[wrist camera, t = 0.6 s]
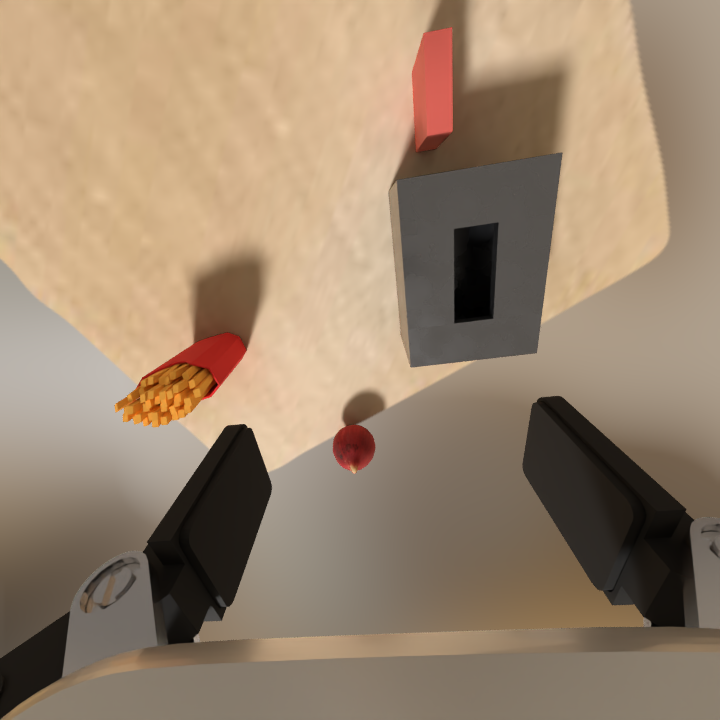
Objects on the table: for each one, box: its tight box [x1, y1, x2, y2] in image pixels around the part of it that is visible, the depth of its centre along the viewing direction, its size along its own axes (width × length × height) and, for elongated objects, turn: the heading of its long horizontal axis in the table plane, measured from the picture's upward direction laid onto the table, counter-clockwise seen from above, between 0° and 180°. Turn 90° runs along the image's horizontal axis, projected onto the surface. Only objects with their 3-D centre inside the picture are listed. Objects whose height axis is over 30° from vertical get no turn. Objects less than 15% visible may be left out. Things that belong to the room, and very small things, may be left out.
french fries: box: [115, 332, 247, 427], centre depth 32 cm, size 9×4×13 cm, turn 107°
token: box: [412, 27, 453, 152], centre depth 25 cm, size 6×2×6 cm, turn 8°
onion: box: [333, 425, 375, 473], centre depth 40 cm, size 6×6×8 cm
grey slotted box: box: [389, 153, 562, 367], centre depth 29 cm, size 16×12×9 cm
